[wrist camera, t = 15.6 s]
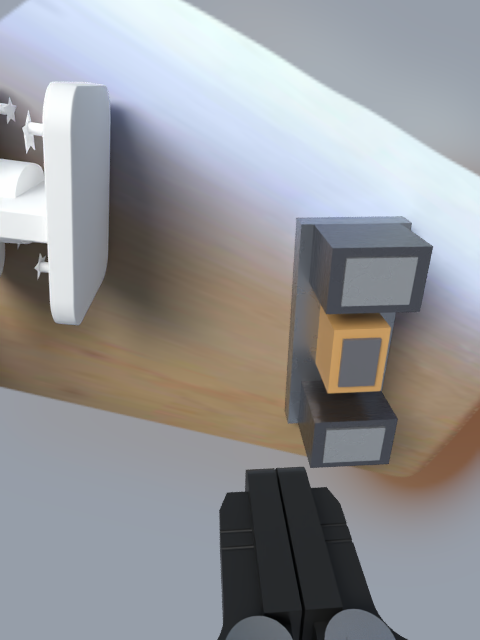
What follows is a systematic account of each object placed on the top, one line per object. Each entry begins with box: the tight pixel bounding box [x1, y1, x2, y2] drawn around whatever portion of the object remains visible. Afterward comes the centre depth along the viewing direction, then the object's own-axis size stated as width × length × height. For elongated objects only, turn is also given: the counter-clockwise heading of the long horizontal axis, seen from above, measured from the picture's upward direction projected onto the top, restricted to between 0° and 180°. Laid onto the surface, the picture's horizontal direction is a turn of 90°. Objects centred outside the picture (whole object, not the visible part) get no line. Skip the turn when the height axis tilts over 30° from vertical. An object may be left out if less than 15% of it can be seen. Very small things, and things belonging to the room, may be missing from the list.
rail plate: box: [285, 217, 433, 468], centre depth 39 cm, size 9×20×8 cm, turn 0°
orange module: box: [316, 304, 391, 393], centre depth 39 cm, size 6×4×5 cm
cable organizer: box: [0, 82, 111, 325], centre depth 30 cm, size 15×11×12 cm
